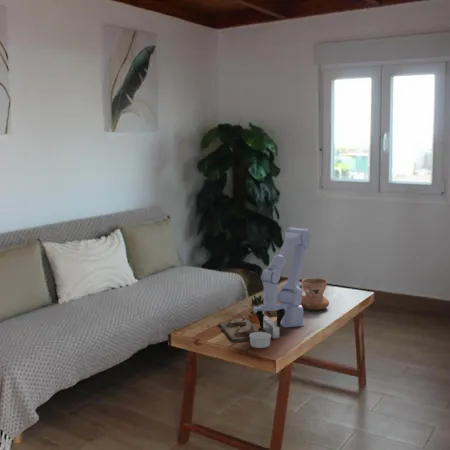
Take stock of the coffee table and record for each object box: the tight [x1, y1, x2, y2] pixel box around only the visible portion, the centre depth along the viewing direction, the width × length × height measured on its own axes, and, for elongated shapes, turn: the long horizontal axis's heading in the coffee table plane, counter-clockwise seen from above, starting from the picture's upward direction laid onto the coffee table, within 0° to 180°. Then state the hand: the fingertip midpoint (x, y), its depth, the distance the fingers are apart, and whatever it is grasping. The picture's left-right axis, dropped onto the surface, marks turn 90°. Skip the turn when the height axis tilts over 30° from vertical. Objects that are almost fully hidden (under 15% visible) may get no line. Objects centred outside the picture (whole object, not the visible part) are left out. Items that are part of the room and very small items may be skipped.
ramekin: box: [249, 331, 272, 349], centre depth 249 cm, size 9×9×4 cm
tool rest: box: [218, 316, 261, 343], centre depth 265 cm, size 14×24×4 cm, turn 14°
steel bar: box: [262, 315, 280, 339], centre depth 264 cm, size 16×3×5 cm, turn 15°
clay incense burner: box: [300, 277, 330, 311], centre depth 299 cm, size 18×14×14 cm
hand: (270, 326), depth 264 cm, fingers open, 7 cm apart
